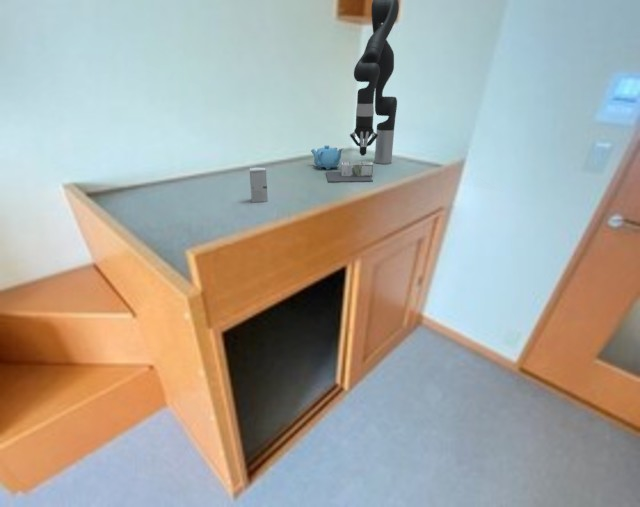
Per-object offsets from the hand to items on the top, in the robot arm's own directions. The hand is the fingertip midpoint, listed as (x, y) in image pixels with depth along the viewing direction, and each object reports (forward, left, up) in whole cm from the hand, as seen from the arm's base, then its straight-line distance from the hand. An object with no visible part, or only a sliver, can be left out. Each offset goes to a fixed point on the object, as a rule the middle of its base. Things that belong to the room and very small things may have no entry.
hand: (362, 155), depth 161 cm
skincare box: (+33, -44, -10) cm, 56 cm away
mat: (0, -6, -10) cm, 12 cm away
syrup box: (0, +5, -7) cm, 8 cm away
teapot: (-21, -15, -10) cm, 27 cm away
